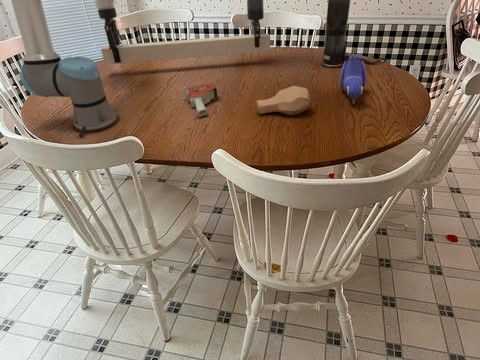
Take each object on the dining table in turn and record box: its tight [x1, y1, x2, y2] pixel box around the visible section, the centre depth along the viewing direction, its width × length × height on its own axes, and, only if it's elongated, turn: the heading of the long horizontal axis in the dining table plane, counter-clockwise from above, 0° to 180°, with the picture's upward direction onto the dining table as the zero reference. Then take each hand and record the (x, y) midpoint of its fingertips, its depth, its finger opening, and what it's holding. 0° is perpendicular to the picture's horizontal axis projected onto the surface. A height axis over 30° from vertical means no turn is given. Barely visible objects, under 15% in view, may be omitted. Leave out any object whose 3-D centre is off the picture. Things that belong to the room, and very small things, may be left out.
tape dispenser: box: [183, 82, 218, 117], centre depth 140 cm, size 18×5×20 cm
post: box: [100, 33, 271, 66], centre depth 171 cm, size 80×5×7 cm, turn 95°
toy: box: [339, 55, 367, 105], centre depth 136 cm, size 10×17×25 cm
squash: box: [255, 85, 312, 116], centre depth 130 cm, size 11×20×9 cm, turn 92°
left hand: (119, 60), depth 172 cm, fingers closed on post, 5 cm apart
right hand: (256, 45), depth 174 cm, fingers closed on post, 5 cm apart
